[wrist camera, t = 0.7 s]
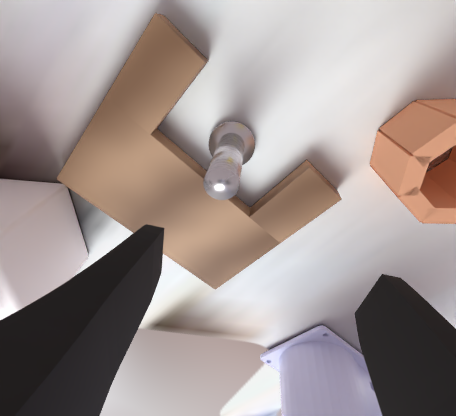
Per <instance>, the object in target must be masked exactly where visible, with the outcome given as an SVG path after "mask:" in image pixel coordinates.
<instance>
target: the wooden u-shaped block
mask: <svg viewBox="0 0 456 416" xmlns="http://www.w3.org/2000/svg"><path fill="white" fill-rule="evenodd" d="M207 62H208V60H207V59H206V58H205V57H204V56H203V55H202V54H201V53H200V52H199V51H198V50H197V49H196V48H195V47H194V46H193V45H192V44H191V43H190V42H189V41H188V40H187V39H186V38H185V37H184V36H183V35H182V34H181V33H180V32H179V31H178V30H177V29H176V28H175V27H174V25H173V24H172V23H171V22H170V21H169V20H168V19H167V18H166V17H165V16H164V15H161V14H157V13H155V14H154V16H153V18H152V19H151V21H150V23H149V24H148V26H147V28H146V29H145V31H144V33H143V34H142V36H141V38H140V39H139V41H138V43H137V45H136V46H135V48H134V50H133V51H132V53H131V55H130V56H129V58H128V60H127V61H126V63H125V65H124V66H123V68H122V70H121V71H120V73H119V75H118V76H117V78H116V80H115V81H114V83H113V85H112V86H111V88H110V90H109V91H108V93H107V95H106V96H105V98H104V100H103V102H102V103H101V105H100V107H99V108H98V110H97V112H96V113H95V115H94V117H93V118H92V120H91V122H90V123H89V125H88V127H87V128H86V130H85V132H84V133H83V135H82V137H81V138H80V140H79V142H78V143H77V145H76V147H75V148H74V150H73V152H72V153H71V155H70V157H69V158H68V160H67V162H66V164H65V165H64V167H63V169H62V170H61V172H60V174H59V175H58V177H57V180H58V181H60V182H61V183H63V184H64V185H65V186H67V187H68V188H70V189H71V190H73V191H74V192H76V193H77V194H78V195H80V196H81V197H83V198H84V199H86V200H87V201H88V202H90V203H91V204H93V205H94V206H96V207H97V208H99V209H100V210H101V211H103V212H104V213H106V214H107V215H109V216H110V217H112V218H113V219H114V220H116V221H117V222H119V223H120V224H122V225H123V226H124V227H126V228H127V229H129V230H130V231H132V232H133V233H135V232H136V231H137V230H138V229H140V228H141V227H142V226H144V225H145V224H148V225H153V226H157V227H162V228H164V242H163V254H165V255H166V256H168V257H169V258H171V259H172V260H173V261H175V262H176V263H178V264H179V265H181V266H182V267H184V268H185V269H186V270H188V271H189V272H191V273H192V274H194V275H195V276H196V277H198V278H199V279H201V280H202V281H204V282H205V283H207V284H208V285H209V286H211V287H212V288H214V289H217V288H218V287H220V286H221V285H222V284H224V283H225V282H227V281H228V280H229V279H231V278H232V277H234V276H235V275H236V274H238V273H239V272H241V271H242V270H243V269H245V268H246V267H248V266H249V265H250V264H252V263H253V262H255V261H256V260H257V259H259V258H260V257H262V256H263V255H264V254H266V253H267V252H269V251H270V250H271V249H273V248H274V247H276V246H277V245H278V244H280V243H281V242H283V241H284V240H285V239H287V238H288V237H290V236H291V235H292V234H294V233H295V232H297V231H298V230H299V229H301V228H302V227H304V226H305V225H306V224H308V223H309V222H311V221H312V220H313V219H315V218H316V217H318V216H319V215H320V214H322V213H323V212H325V211H326V210H327V209H329V208H330V207H332V206H333V205H334V204H336V203H337V202H339V201H340V200H341V197H340V195H339V193H338V191H337V190H336V189H335V188H334V187H333V186H332V185H331V184H330V183H329V182H328V181H327V180H326V179H325V178H324V177H323V176H322V175H321V174H320V173H319V172H318V171H317V170H316V169H315V168H314V166H313V165H312V164H311V163H310V162H309V161H308V160H306V161H305V162H303V163H302V164H301V165H300V166H299V167H298V168H296V169H295V170H294V171H293V172H292V173H290V174H289V175H288V176H287V177H286V178H285V179H283V180H282V181H281V182H280V183H279V184H277V185H276V186H275V187H274V188H273V189H272V190H270V191H269V192H268V193H267V194H266V195H265V196H263V197H262V198H261V199H260V200H259V201H257V202H256V203H255V204H254V205H253V206H252V207H248V206H247V205H246V204H245V203H244V202H242V201H241V200H240V199H239V198H238V197H237V196H235V195H234V196H233V197H232V198H230V199H227V200H217V199H215V198H212V197H211V196H210V195H208V193H207V192H206V191H205V189H204V185H203V181H204V177H205V175H206V172H207V171H206V170H205V169H204V168H203V167H201V166H200V165H199V164H198V163H197V162H195V161H194V160H193V159H192V158H191V157H190V156H188V155H187V154H186V153H185V152H184V151H183V150H181V149H180V148H179V147H178V146H177V145H176V144H174V143H173V142H172V141H171V140H170V139H168V138H167V137H166V136H165V135H164V134H163V133H161V132H160V131H159V130H158V129H157V128H158V127H159V125H160V124H161V123H162V121H163V120H164V119H165V117H166V116H167V115H168V114H169V112H170V111H171V110H172V108H173V107H174V106H175V104H176V103H177V102H178V100H179V99H180V98H181V96H182V95H183V94H184V92H185V91H186V90H187V88H188V87H189V86H190V84H191V83H192V82H193V81H194V79H195V78H196V77H197V75H198V74H199V73H200V71H201V70H202V69H203V67H204V66H205V65H206V63H207Z"/></svg>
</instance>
